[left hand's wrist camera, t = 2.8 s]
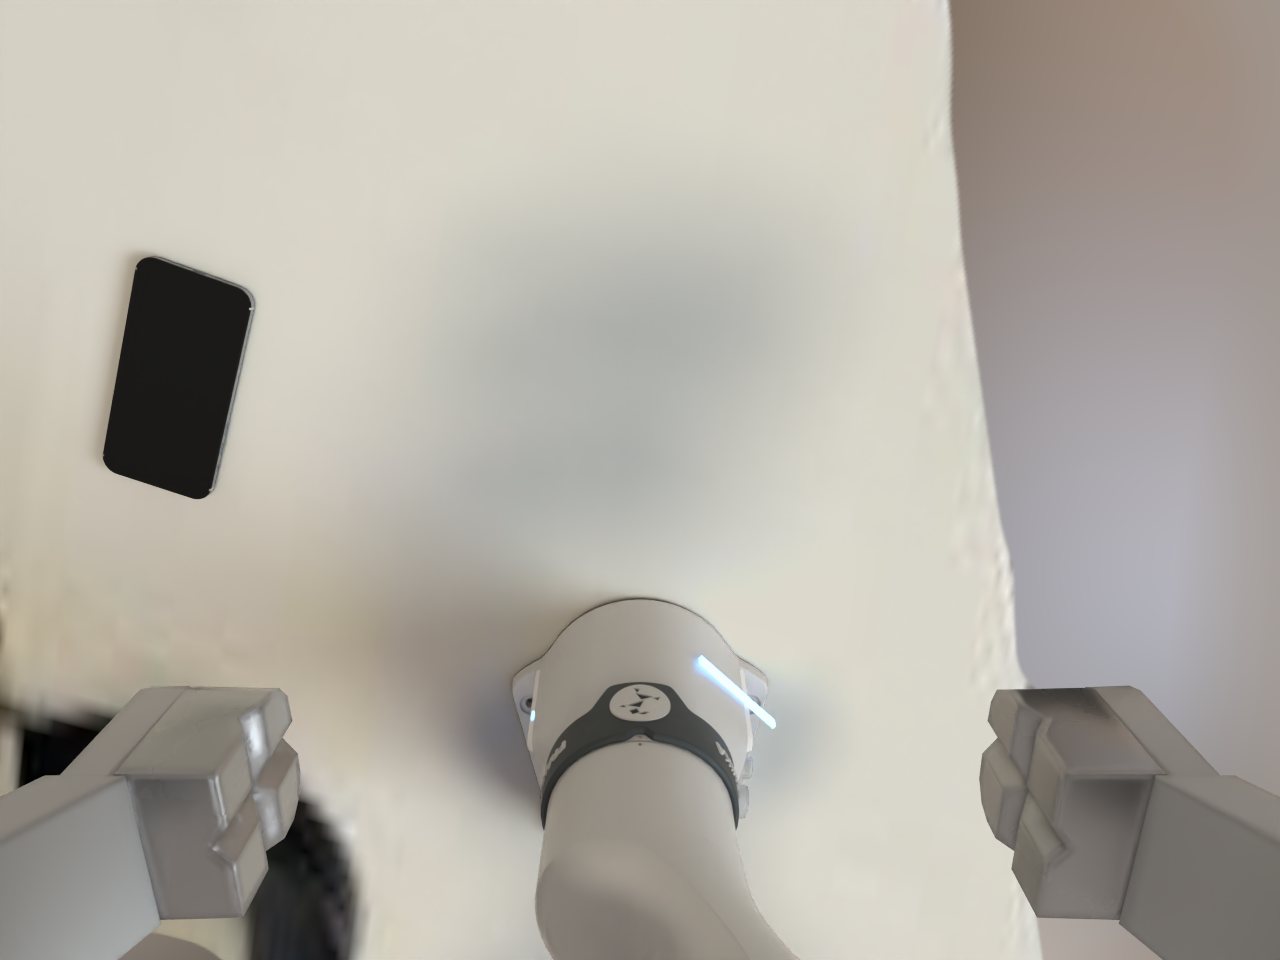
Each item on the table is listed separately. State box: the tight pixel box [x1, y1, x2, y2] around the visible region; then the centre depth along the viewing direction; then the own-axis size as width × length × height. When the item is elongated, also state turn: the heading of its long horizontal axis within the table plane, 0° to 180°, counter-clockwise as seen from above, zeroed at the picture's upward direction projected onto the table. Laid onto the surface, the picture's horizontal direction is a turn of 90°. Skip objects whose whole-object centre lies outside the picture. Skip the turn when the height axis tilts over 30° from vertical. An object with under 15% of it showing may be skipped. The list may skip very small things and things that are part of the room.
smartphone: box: [103, 257, 254, 499], centre depth 57 cm, size 7×1×15 cm
